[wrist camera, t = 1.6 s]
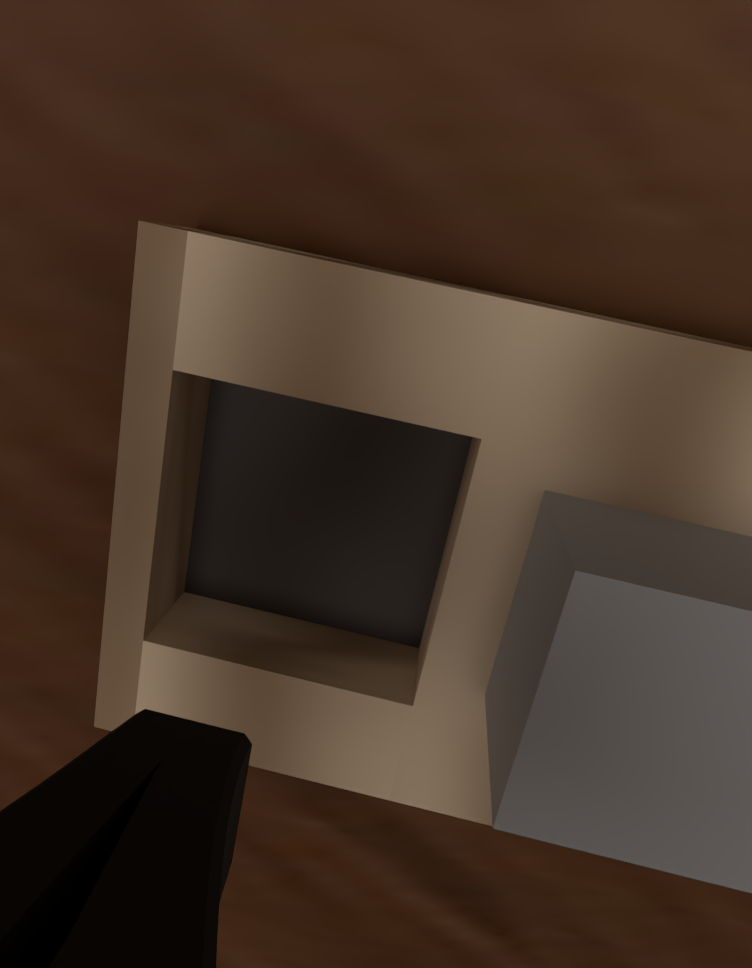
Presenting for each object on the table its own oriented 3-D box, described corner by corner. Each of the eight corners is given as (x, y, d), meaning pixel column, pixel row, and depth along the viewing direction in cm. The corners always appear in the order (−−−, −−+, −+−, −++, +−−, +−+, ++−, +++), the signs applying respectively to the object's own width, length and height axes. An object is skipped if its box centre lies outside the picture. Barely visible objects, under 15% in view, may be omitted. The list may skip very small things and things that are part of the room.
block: (789, 545, 14) (911, 647, 10) (704, 747, 16) (782, 900, 12) (544, 490, 14) (575, 570, 11) (485, 694, 16) (492, 828, 12)
